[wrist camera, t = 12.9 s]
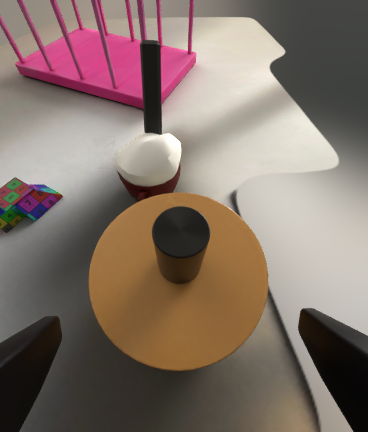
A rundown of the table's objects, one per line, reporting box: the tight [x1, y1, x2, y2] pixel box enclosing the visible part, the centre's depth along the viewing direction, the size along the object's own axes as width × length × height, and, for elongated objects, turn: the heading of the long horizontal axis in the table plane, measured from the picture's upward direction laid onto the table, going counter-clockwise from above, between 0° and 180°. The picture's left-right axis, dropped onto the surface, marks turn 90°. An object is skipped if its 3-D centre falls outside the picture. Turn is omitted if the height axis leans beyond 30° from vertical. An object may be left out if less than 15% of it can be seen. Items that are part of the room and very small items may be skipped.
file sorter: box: [0, 0, 196, 109], centre depth 31 cm, size 17×25×16 cm
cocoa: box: [114, 40, 181, 202], centre depth 20 cm, size 10×6×12 cm, turn 151°
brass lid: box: [89, 193, 268, 371], centre depth 11 cm, size 10×10×5 cm
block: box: [0, 177, 63, 233], centre depth 21 cm, size 6×4×3 cm
